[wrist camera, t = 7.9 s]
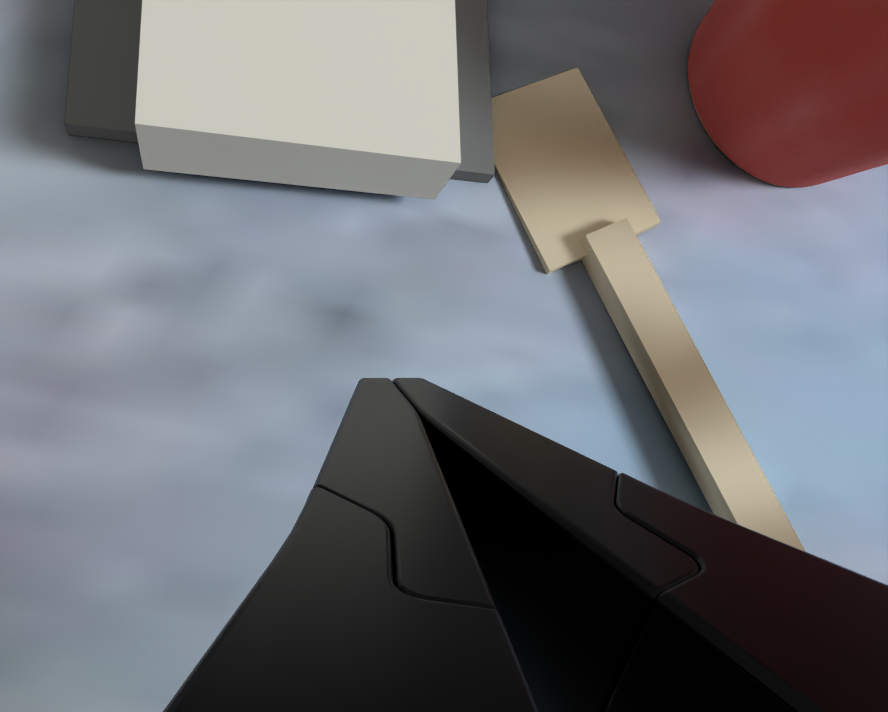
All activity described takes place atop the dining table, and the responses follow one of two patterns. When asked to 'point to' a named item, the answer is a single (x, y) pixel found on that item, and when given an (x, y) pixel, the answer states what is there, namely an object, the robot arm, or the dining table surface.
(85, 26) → the mat
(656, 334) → the spatula
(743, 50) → the flower pot
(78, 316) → the dining table surface
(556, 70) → the dining table surface
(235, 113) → the tile
